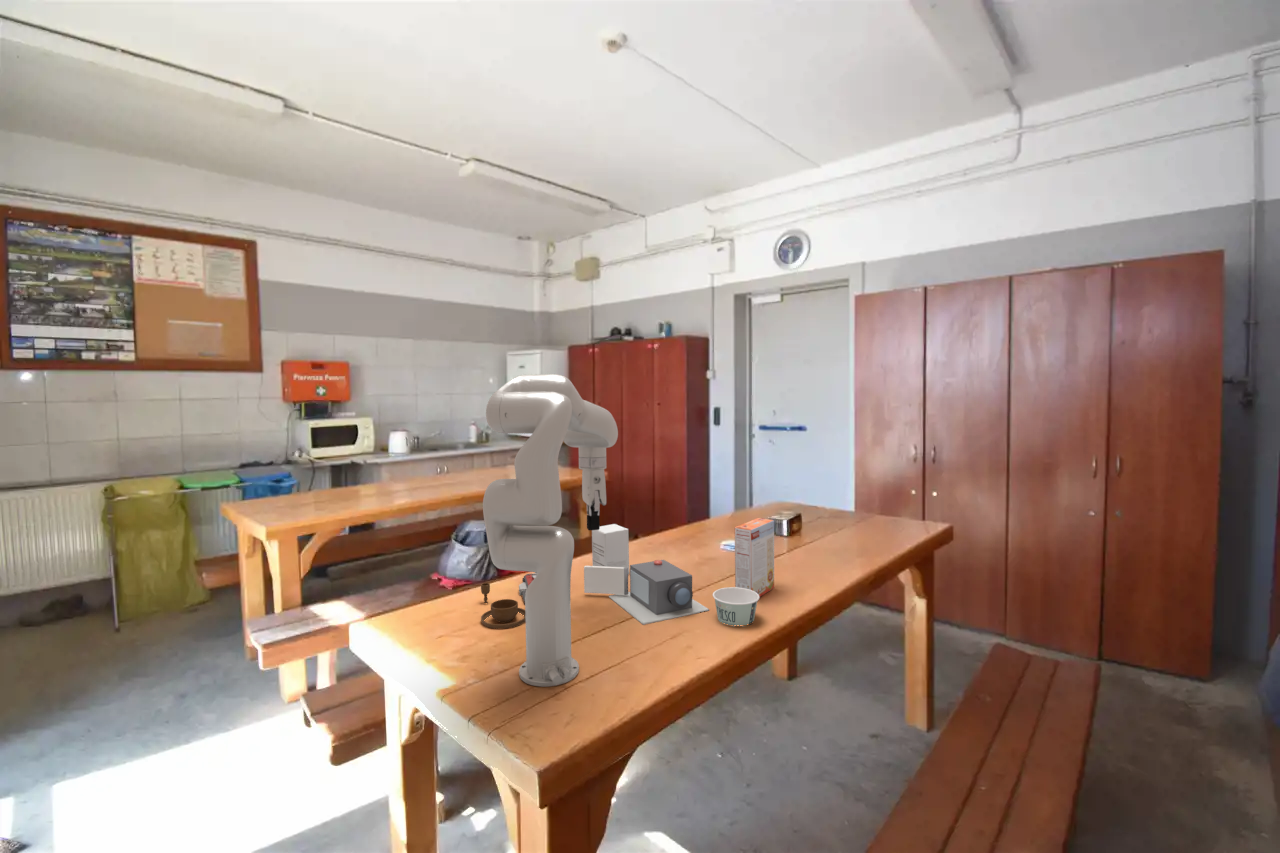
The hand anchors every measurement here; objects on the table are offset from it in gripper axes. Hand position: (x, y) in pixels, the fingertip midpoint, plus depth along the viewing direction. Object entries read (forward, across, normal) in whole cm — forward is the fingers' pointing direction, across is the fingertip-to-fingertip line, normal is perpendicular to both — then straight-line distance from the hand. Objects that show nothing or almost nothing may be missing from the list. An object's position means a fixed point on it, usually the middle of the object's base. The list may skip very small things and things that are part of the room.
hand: (593, 529), depth 163 cm
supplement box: (+21, +25, -11) cm, 35 cm away
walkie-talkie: (+22, +16, +14) cm, 31 cm away
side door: (+20, +6, -5) cm, 22 cm away
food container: (+22, -21, -33) cm, 45 cm away
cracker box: (+21, -5, -47) cm, 52 cm away
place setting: (+22, +2, +24) cm, 33 cm away
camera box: (+21, -4, -18) cm, 28 cm away
